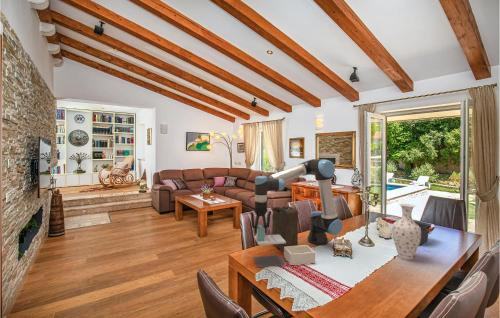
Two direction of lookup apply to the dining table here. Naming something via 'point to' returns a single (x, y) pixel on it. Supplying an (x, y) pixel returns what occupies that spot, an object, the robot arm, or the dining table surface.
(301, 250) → the tub
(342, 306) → the dining table surface
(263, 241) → the lid
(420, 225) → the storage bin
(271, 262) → the mat
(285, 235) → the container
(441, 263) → the dining table surface
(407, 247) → the vase
